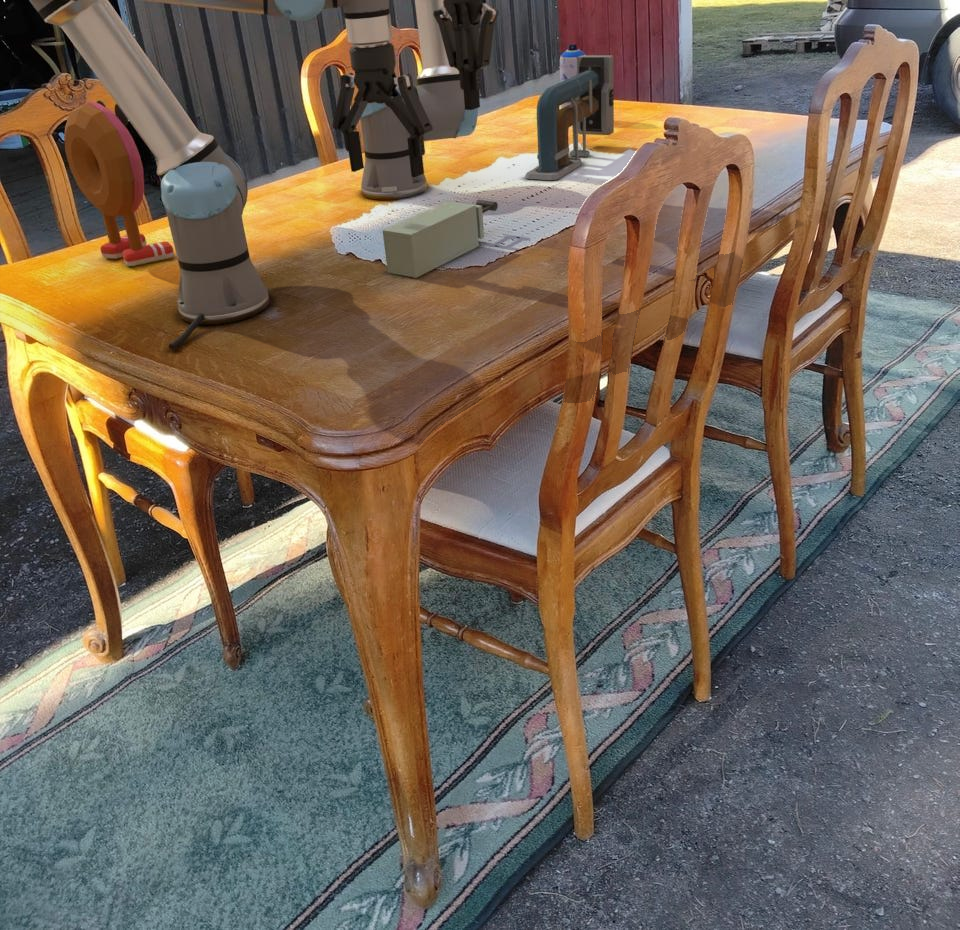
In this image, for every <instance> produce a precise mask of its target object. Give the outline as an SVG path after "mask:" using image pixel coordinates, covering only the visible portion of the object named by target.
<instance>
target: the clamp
mask: <svg viewBox="0 0 960 930" xmlns="http://www.w3.org/2000/svg"><path fill="white" fill-rule="evenodd" d="M614 60H615V59H614V55H610V54H609V55H606V54H605V55H602V54H601V55H599V54H597V55H596V54H595V55H593V54H592V55H586V54H585V55H581V56H579V57H577V75H576V76H573V77H571V78H569V79H567V80H565V81H562V82H560V81H559V82H558V83H556V84H554V85H551V86H549V87H547V88H546V89H545V90H544V91H543V93H542V94H541V95H540V96H539V98H538V99H537V105H536V129H537V130H536V131H537V135H536V136H537V155H536V158H537V160H538V166H536V167H534V168H532V169H530V170H528V171H527V172H526V173H525V175H524V178H525V179H527V180H541V181H545V180H546V181H556V180H559V179H561V178H563V177H564V176H566V175H567V174H569V173H570V172H572V171H574V170H576V169H577V168H578V167H580V166H582V165H583V164H584V163H583V161H582V159H581V157H585V158H586V157H587V156H589V155H590V154H591V153H590V152H591V151H589V150H588V149H587V138H586V137H587V135H590V136H591V135H593V136H610V135H612V134H613V133H614V132H615V117H614V116H615V115H614V112H615V109H614V108H615V107H614V105H615V103H614V98H615V94H614V93H615V92H614V91H615V89H614V84H615V83H614V81H615V78H614V77H615V76H614V69H615V68H614V67H615V66H614V64H615V63H614ZM569 102H571V103H572V104H570V105H568V106H566V107H564V108H562V109H561V108H560V107H561V105H562V104H564V103H569ZM570 127H572V149H571V150H570V147H569V143H570V142H569V129H570ZM579 135H582V149H579Z"/></svg>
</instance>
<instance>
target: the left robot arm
mask: <svg viewBox="0 0 960 930" xmlns="http://www.w3.org/2000/svg"><path fill="white" fill-rule="evenodd" d="M28 1H29V2H30V3H31V5H32V6H33V8H34V10H36V12H37V13H38V14H39V16H40V17H41V19H42V20H43V21H44V22H45V23H46V24H47V23H48V24H51V25H55V26H58V27H59V28H61V29H62V31H63V32H64V34H65V35H66V36H67V38H68V39H69V40H70V42H71V43H72V44H73V47H75V49H76V51H78V53H79V54H80V55H81V57H82V59H83V60H84V61H85V63H86V64H87V66H89V68H90V69H91V70H92V72H93V73H94V75H95V76H96V77H97V79H98V80H99V81H100V83H101V85H103V87H104V89H105V90H106V91H107V93H108V94H109V95H110V97H111V98H112V99H113V101H114V102H115V104H117V105H118V106H119V108H120V109H121V110H122V112H123V113H124V114H125V116H126V117H127V118H128V122H129V123H130V124H131V126H132V127H133V128H134V130H135V131H136V132H137V134H138V135H139V137H140V138H141V139H142V141H143V142H144V144H145V145H146V146H147V147H148V149H149V151H150V152H151V153H152V155H153V156H154V157H155V158H156V161H157V165H156V175H157V176H158V177H159V179H160V180H161V182H160V191H161V194H160V195H161V197H160V198H161V202H162V203H163V206H164V209H165V214H166V217H167V221H168V226H169V229H170V234H171V238H172V241H173V247H174V250H175V254H176V258H177V262H178V266H179V283H178V294H177V310H178V314H179V318H180V319H182V320H183V321H184V322H186V323H189V325H188V326H187V328H186V329H185V330H184V332H183V333H181V335H180V336H178V337H176V339H174V340H173V341H172V342H171V343H169V344H168V348H169V350H171V351H173V350H175V349H176V348H178V347H179V346H180V345H182V344H183V343H184V342H185V341H187V339H188V338H189V337H190V336H191V334H192V333H193V332H194V331H195V329H196V328H197V327H198V326H199V325H202V326H203V325H204V326H205V325H206V326H210V325H222V324H230V323H233V322H239V321H241V320H245V319H248V318H251V317H253V316H256V315H258V314H260V312H263V311H264V310H265V309H266V308H267V307H268V306H269V305H270V296H269V291H268V289H267V287H266V284H265V283H264V282H263V280H262V278H261V276H260V274H259V272H258V270H257V269H256V267H255V265H254V264H253V262H252V260H251V257H250V251H249V246H248V241H247V236H246V232H245V227H244V220H243V213H244V211H245V210H244V209H245V207H246V204H247V202H248V194H249V190H248V189H249V188H248V182H247V179H246V176H245V173H244V171H243V170H242V168H241V167H240V165H239V164H238V163H237V161H236V160H234V159H233V157H231V156H229V155H228V154H226V153H225V151H224V150H223V149H222V147H221V146H220V144H219V143H218V142H217V140H216V139H215V137H214V136H213V135H211V134H209V133H207V134H206V133H204V132H201V131H200V130H199V129H198V128H197V127H196V125H195V124H194V122H193V121H192V119H191V118H190V116H189V114H187V112H186V110H184V108H183V106H182V105H181V104H180V102H179V100H178V99H177V98H176V96H175V95H174V93H173V92H172V91H171V89H170V88H169V86H168V84H167V83H166V82H165V80H164V79H163V77H162V75H160V73H159V72H158V70H157V69H156V67H155V66H154V64H153V63H152V61H151V60H150V59H149V57H148V56H147V55H146V53H145V51H144V50H143V49H142V47H141V46H140V45H139V43H138V42H137V40H136V39H135V37H134V36H133V34H132V33H131V31H130V30H129V28H128V27H127V25H126V24H125V23H124V21H123V20H122V18H121V16H120V15H119V14H118V13H117V11H116V10H115V7H114V6H113V5H112V4H111V2H110V1H109V0H28ZM141 1H142V2H151V3H160V4H167V5H168V4H169V5H178V6H184V7H185V6H186V7H195V8H204V9H213V10H220V11H221V10H223V11H229V12H240V13H248V14H259V15H267V16H272V17H280V18H287V19H289V20H290V21H293V22H309V21H312V20H314V19H315V18H316V17H317V16H318V15H320V13H322V11H323V10H329V9H338V8H342V9H343V15H344V23H345V30H346V38H347V43H348V44H349V45H351V47H350V48H349V49H348V52H349V58H350V66H351V70H352V71H354V73H353V72H348V73H344V74H342V75H340V77H339V82H340V83H339V85H340V90H339V95H338V99H337V104H336V106H335V107H336V108H335V112H334V116H333V120H332V121H333V122H332V128H333V129H334V130H339V131H340V132H341V133H342V135H343V141H344V148H345V151H346V152H348V157H349V164H350V165H349V166H350V171H351V172H352V173H356V172H358V171H360V170H364V165H365V164H364V158H363V151H362V143H361V137H360V131H358V128H357V126H358V124H359V122H360V121H361V120H360V118H361V116H362V114H363V112H364V110H365V108H366V106H367V104H368V103H373V102H376V103H379V104H382V103H385V104H386V106H388V107H390V108H391V110H392V111H393V112H394V114H395V115H396V116H397V118H398V119H399V120H400V122H401V123H402V124H403V126H404V127H405V128H406V130H407V131H408V133H409V134H410V135H411V136H410V137H409V138H407V140H408V149H409V158H410V167H411V175H412V177H417V176H419V175H421V174H424V175H425V169H424V159H423V156H425V154H426V149H425V147H426V146H425V141H424V135H425V134H426V133H429V132H431V131H432V130H433V127H432V125H431V123H430V121H429V119H428V116H427V114H426V112H425V110H424V108H423V106H422V104H421V102H420V100H419V98H418V96H417V94H416V91H415V89H414V87H415V86H414V81H413V77H412V75H411V74H410V73H407V74H403V75H400V76H397V74H396V72H395V70H396V69H395V68H396V65H397V61H396V53H395V45H394V44H393V43H392V42H391V40H392V39H393V37H394V36H393V28H392V19H391V10H390V2H389V1H390V0H140V2H141ZM396 86H397V89H399V90H400V93H401V95H400V93H399V92H398V91H397V89H396ZM355 87H356V88H357V93H356V94H355V96H354V93H355V89H356V88H355ZM392 96H393V98H392ZM353 97H354V98H353ZM402 98H403V100H404V102H405V103H404V102H403V100H402ZM353 101H354V102H353ZM352 102H353V104H352ZM405 104H406V105H405Z"/></svg>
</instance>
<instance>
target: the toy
mask: <svg viewBox="0 0 960 930" xmlns="http://www.w3.org/2000/svg"><path fill="white" fill-rule="evenodd" d="M128 124H129V120H128V118H127V117H126V116H125V114H124V113H123V112H122V110H121V109H120V108H119V106H118V105H117V103H115V105H114V111H112V110H111V109H109V108H107V106H106V104H105V103H104V101H101V100H97V101H91V100H89V101H88V102H86V103H84V104H81V105H79V106H77V107H75V108H74V109H72V110H71V111H70V112H69V113H68V116H67V120H66V123H65V126H64V150H65V151H64V152H65V156H66V160H67V164H68V166H69V170H70V172H71V174H72V176H73V178H74V181H75V182H76V185H77V187H78V188H79V190H80V191H81V193H82V194H83V195H84V196H85V197H86V199H87V200H88V202H90V203H91V205H92V206H94V207H95V209H97V210H99V211H100V213H101V217H102V219H103V224H104V227H105V231H106V235H107V238H108V242H106V243H104V244H102V245H101V246H100V253H101V257H102V258H105V259H113V260H116V259H121V258H122V259H123V262H124V264H125V265H126V266H127V267H135V266H140V265H144V264H150V263H154V262H159V261H164V260H167V259H172V258H174V256H175V251H174V246H172V245H171V243H170V242H169V241H160V242H156V243H151V244H148V242H147V240H146V236H145V235H144V233H140V229H139V228H140V227H139V224H138V220H137V218H136V217H137V216H136V214H135V212H136V211H137V210H138V209H139V207H140V206H141V204H142V202H143V200H144V199H143V198H144V194H145V177H144V167H143V162H142V160H141V159H142V158H141V155H140V152H139V150H138V147H137V144H136V143H135V140H134V138H133V136H132V135H131V133H130V131H129V130H128V128H127V126H128ZM117 217H122V221H123V225H124V229H125V232H126V234H124V235H122V236H121V233H120V229H119V224H118V221H117Z"/></svg>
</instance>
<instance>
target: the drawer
mask: <svg viewBox="0 0 960 930" xmlns="http://www.w3.org/2000/svg"><path fill="white" fill-rule="evenodd" d="M461 203H462V204H466V203H465V202H461ZM469 204H470V205H474V204H472V203H469ZM475 205H476V215H477V228H478V240H481V239H484V238H485V229H484V228H485V227H484V215H483V214H484V213H486V212H489V211H490V212H491V211H492V212H496V211H498V208H499V205H498V202H497V201H492V200H484V199H478V200H476V203H475Z"/></svg>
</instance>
